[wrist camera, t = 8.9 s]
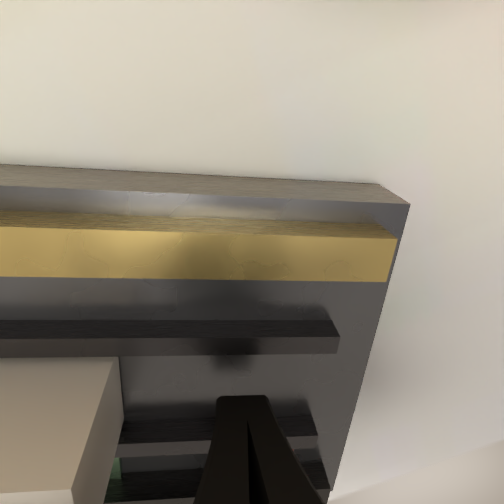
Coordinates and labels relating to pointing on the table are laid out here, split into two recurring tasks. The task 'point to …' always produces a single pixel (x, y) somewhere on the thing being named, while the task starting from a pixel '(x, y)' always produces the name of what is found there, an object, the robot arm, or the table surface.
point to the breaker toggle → (58, 428)
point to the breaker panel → (200, 304)
